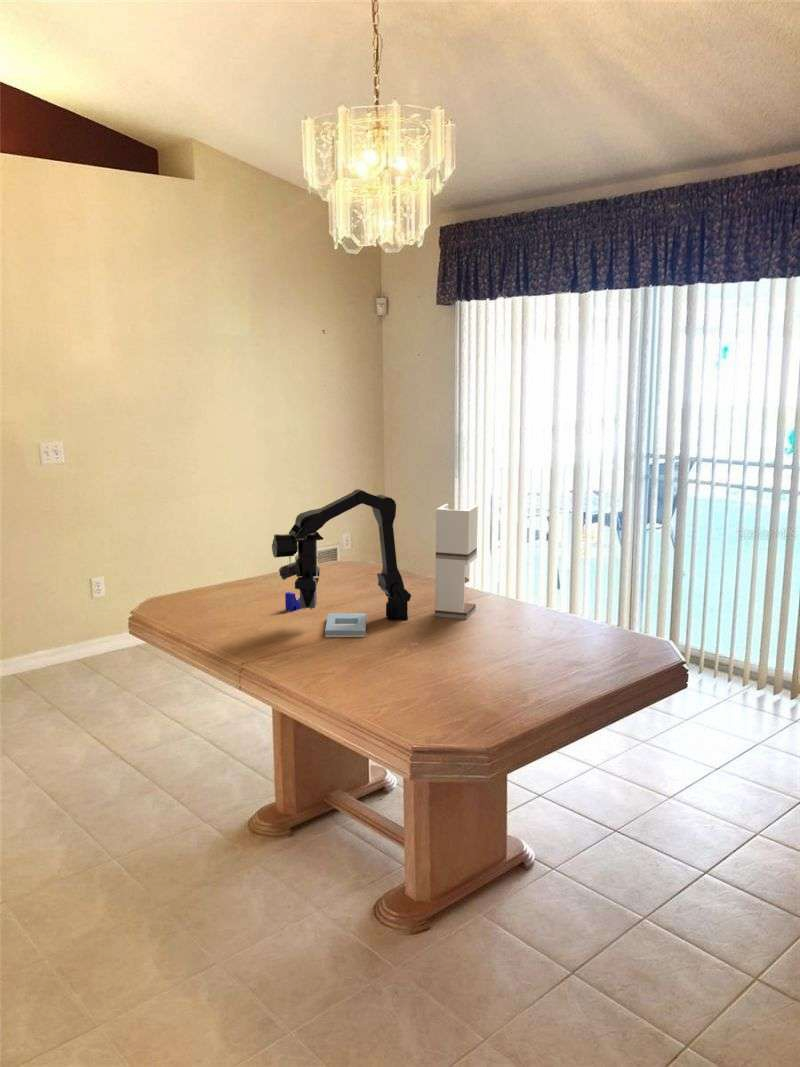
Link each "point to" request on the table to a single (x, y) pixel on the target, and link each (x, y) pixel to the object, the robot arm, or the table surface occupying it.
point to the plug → (312, 604)
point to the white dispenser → (454, 560)
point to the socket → (346, 625)
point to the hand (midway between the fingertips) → (308, 604)
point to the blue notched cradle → (291, 602)
